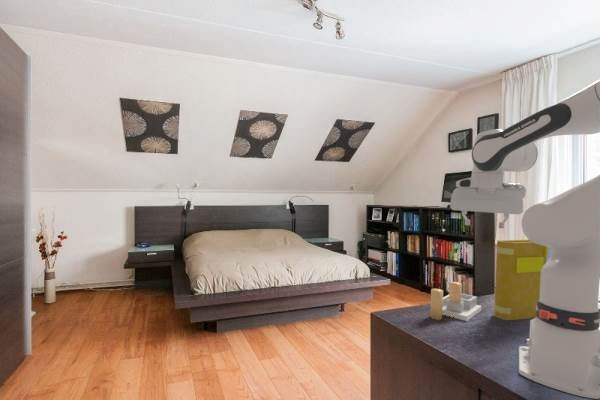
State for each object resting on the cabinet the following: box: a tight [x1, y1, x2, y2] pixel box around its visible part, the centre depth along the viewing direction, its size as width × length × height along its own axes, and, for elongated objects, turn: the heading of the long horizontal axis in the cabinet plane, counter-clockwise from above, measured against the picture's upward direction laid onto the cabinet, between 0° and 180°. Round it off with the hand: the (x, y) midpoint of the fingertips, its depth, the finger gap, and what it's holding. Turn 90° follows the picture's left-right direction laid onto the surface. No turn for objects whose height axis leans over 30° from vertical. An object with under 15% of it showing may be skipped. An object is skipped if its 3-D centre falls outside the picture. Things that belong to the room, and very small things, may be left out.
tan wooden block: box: [429, 288, 444, 321], centre depth 112 cm, size 4×4×9 cm
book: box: [493, 238, 549, 321], centre depth 117 cm, size 17×7×25 cm, turn 108°
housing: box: [442, 281, 482, 322], centre depth 119 cm, size 15×10×10 cm, turn 137°
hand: (483, 226), depth 110 cm, fingers open, 8 cm apart
